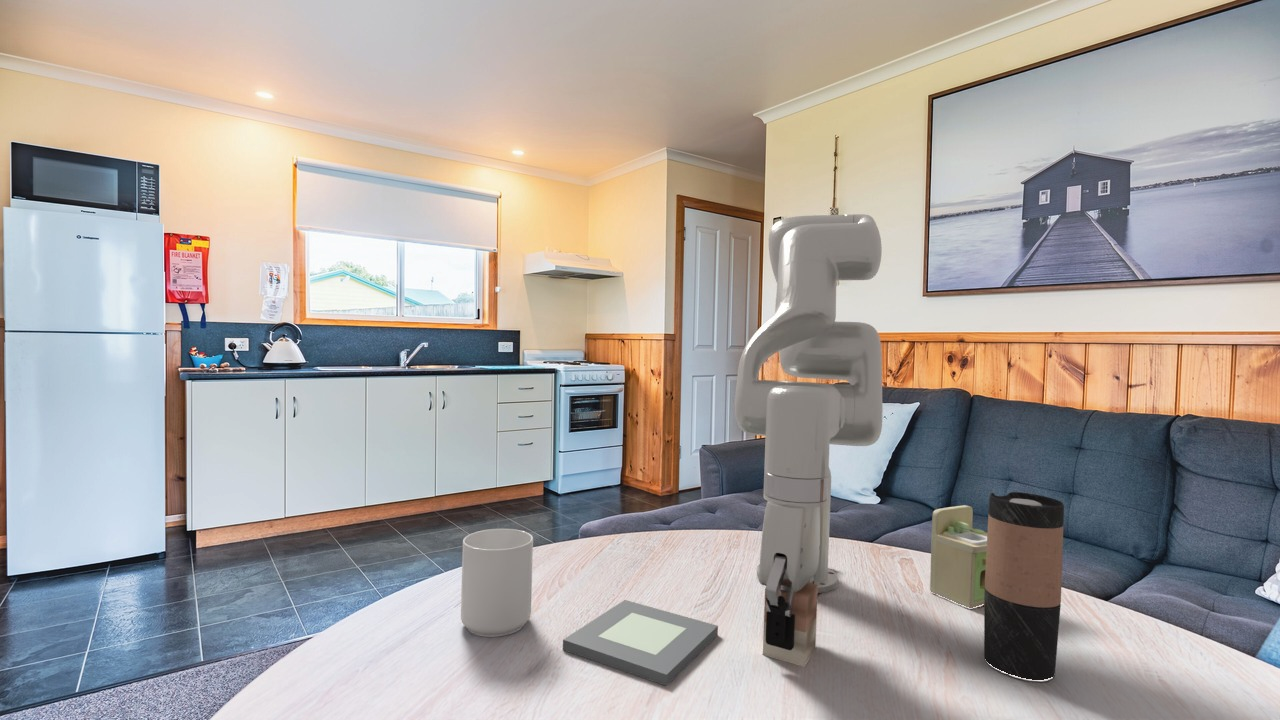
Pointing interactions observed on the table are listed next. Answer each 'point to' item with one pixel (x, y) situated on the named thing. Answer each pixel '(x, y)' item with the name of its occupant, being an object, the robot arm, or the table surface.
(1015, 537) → the travel mug
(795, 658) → the brick stack
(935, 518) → the toy sink
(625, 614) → the base board
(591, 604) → the table surface
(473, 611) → the mug
